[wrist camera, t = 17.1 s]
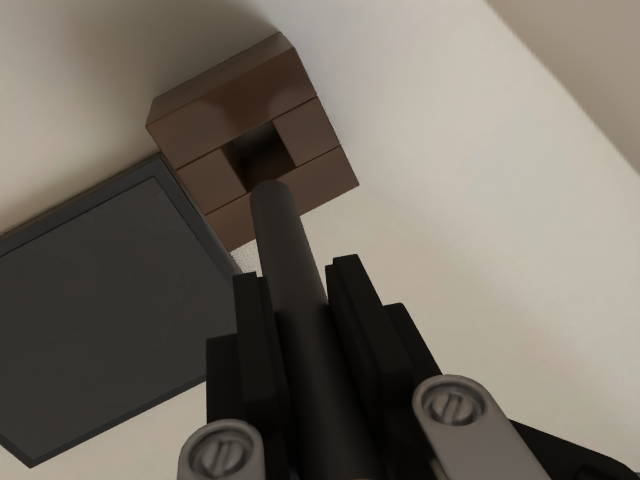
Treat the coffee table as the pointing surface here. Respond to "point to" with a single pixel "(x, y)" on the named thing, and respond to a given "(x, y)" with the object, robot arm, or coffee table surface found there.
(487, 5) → the coffee table surface
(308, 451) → the stylus
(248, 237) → the holder
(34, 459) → the tablet
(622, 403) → the coffee table surface
